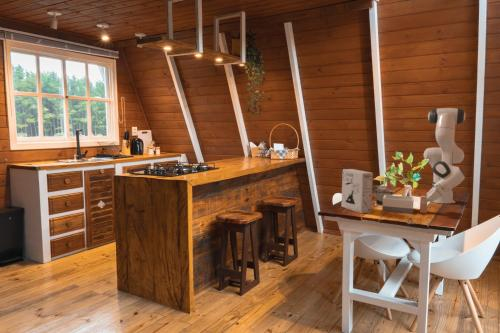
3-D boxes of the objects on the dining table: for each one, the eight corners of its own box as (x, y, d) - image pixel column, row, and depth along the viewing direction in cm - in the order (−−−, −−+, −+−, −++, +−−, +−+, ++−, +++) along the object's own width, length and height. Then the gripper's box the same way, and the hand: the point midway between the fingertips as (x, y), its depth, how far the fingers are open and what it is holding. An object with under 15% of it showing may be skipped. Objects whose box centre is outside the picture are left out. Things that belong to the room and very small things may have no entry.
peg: (419, 211, 251) (420, 195, 250) (426, 211, 249) (427, 196, 248) (419, 212, 247) (420, 196, 246) (426, 212, 246) (427, 197, 245)
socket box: (383, 206, 264) (384, 194, 263) (412, 209, 257) (413, 197, 256) (382, 210, 251) (382, 198, 250) (412, 213, 244) (413, 200, 243)
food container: (392, 204, 273) (393, 189, 272) (393, 205, 267) (393, 191, 266) (373, 202, 276) (374, 188, 275) (374, 204, 270) (374, 190, 269)
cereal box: (341, 206, 262) (342, 169, 260) (350, 205, 265) (352, 168, 262) (361, 213, 242) (362, 173, 240) (371, 212, 245) (373, 172, 242)
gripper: (436, 182, 253) (418, 196, 258) (437, 186, 234) (419, 201, 239) (443, 189, 252) (425, 203, 257) (445, 194, 233) (426, 209, 238)
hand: (422, 202), depth 248 cm, fingers closed on peg, 4 cm apart
